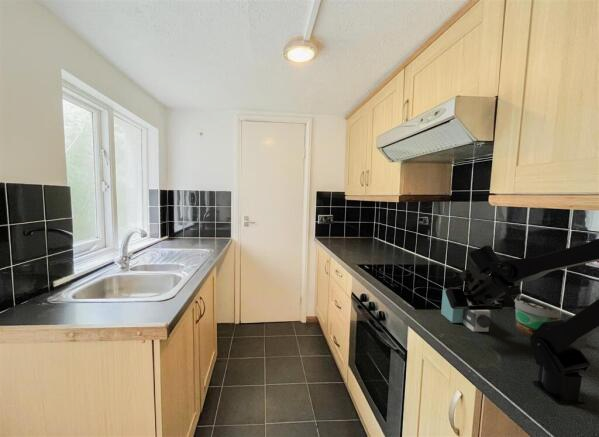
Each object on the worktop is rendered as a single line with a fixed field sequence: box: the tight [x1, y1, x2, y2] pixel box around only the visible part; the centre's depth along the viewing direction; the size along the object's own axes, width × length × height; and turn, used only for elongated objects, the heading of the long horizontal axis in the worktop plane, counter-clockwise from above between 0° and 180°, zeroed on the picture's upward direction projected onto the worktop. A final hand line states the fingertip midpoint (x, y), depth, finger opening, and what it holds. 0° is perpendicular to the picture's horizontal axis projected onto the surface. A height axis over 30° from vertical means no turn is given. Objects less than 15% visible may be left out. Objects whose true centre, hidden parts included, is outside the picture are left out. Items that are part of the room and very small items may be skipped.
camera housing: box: [461, 308, 492, 333], centre depth 94 cm, size 13×5×8 cm, turn 1°
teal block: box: [440, 289, 463, 324], centre depth 97 cm, size 7×4×9 cm, turn 1°
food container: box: [514, 295, 561, 338], centre depth 88 cm, size 12×6×10 cm, turn 21°
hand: (466, 308), depth 90 cm, fingers closed
